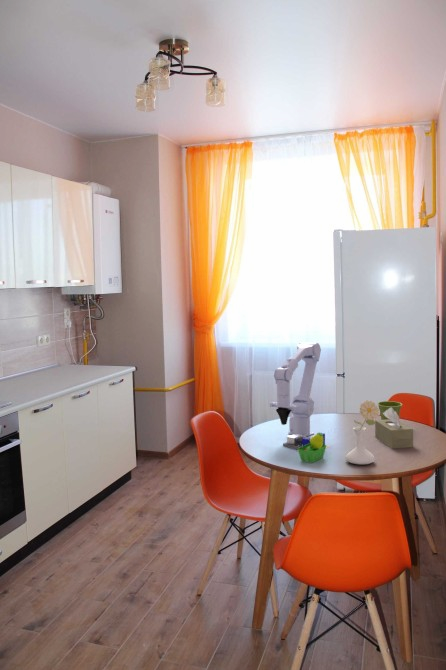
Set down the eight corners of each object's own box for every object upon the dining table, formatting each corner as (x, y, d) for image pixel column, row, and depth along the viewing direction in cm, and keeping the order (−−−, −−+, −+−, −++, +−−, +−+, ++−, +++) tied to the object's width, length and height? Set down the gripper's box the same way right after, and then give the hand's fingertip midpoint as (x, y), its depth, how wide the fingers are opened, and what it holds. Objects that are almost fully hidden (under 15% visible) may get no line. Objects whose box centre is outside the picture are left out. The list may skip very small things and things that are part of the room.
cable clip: (316, 445, 242) (316, 431, 241) (325, 447, 238) (324, 433, 238) (299, 451, 233) (299, 437, 233) (308, 453, 230) (308, 439, 230)
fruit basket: (311, 454, 230) (310, 427, 229) (330, 457, 224) (329, 430, 223) (296, 461, 221) (296, 433, 220) (316, 465, 216) (315, 437, 215)
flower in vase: (345, 466, 213) (345, 403, 210) (344, 457, 224) (344, 397, 222) (380, 467, 210) (380, 403, 208) (377, 458, 221) (377, 397, 219)
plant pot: (372, 425, 273) (372, 402, 272) (390, 421, 278) (390, 400, 277) (388, 430, 262) (388, 407, 261) (407, 427, 267) (407, 404, 266)
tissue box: (374, 437, 253) (374, 403, 251) (395, 435, 254) (395, 402, 252) (391, 449, 234) (391, 412, 233) (413, 447, 235) (413, 411, 234)
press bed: (278, 447, 240) (278, 445, 240) (299, 439, 251) (299, 437, 251) (309, 455, 228) (309, 452, 228) (330, 446, 239) (330, 444, 239)
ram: (287, 445, 243) (287, 436, 242) (295, 442, 247) (295, 433, 246) (295, 447, 239) (295, 438, 239) (303, 444, 244) (303, 435, 243)
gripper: (265, 393, 248) (266, 423, 249) (290, 397, 238) (291, 428, 239) (275, 391, 253) (276, 420, 254) (300, 395, 243) (301, 425, 244)
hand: (284, 424), depth 247 cm, fingers closed
